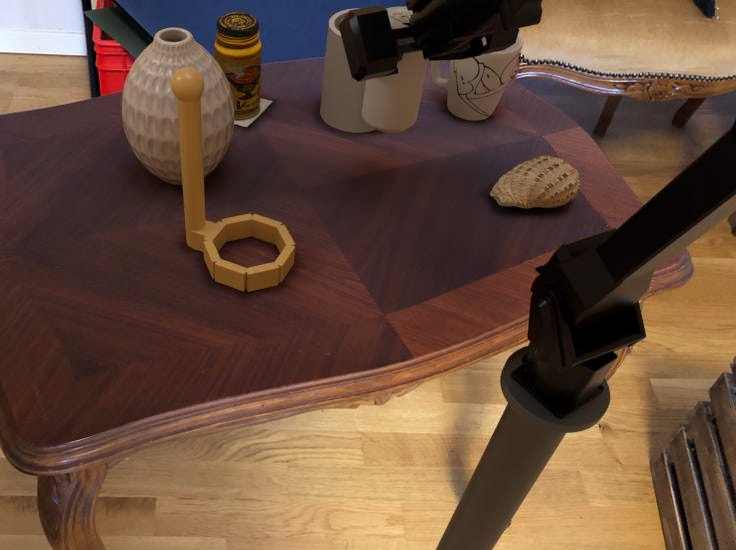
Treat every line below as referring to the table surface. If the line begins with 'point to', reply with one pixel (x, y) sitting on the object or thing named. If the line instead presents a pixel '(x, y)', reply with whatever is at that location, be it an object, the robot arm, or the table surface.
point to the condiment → (241, 63)
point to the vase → (174, 105)
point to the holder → (214, 235)
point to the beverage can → (396, 87)
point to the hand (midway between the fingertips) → (391, 61)
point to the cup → (341, 85)
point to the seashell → (537, 184)
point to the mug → (477, 81)
